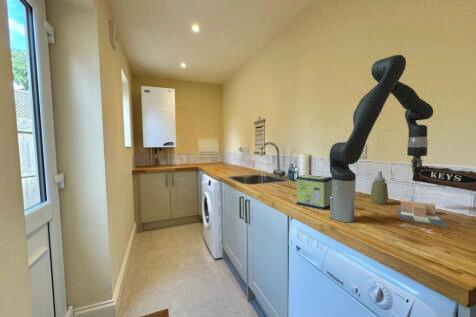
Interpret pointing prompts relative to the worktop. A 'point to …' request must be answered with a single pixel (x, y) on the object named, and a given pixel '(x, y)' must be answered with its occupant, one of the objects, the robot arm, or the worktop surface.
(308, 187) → the protein box
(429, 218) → the mat
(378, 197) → the squeeze bottle
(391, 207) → the worktop surface
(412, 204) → the T-block
